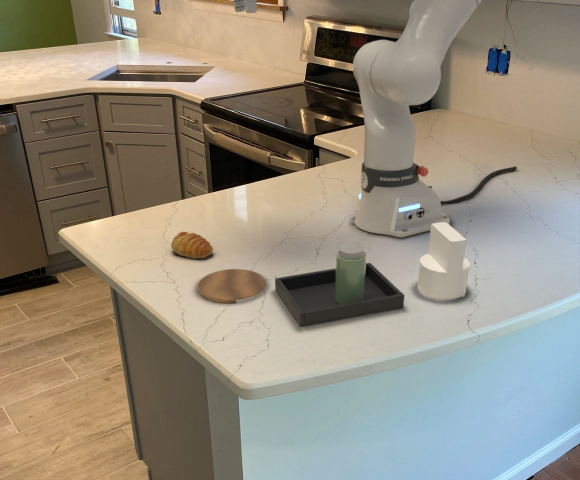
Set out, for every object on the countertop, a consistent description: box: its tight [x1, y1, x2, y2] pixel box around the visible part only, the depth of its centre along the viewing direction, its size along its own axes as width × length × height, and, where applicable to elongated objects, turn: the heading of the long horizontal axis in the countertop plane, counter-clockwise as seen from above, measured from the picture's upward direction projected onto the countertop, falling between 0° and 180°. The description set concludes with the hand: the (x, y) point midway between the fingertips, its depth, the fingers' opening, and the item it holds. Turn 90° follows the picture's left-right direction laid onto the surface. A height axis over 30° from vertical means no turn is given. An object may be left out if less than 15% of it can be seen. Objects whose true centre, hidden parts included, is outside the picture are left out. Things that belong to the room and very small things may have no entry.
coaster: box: [197, 268, 266, 304], centre depth 121 cm, size 13×13×1 cm
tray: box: [274, 262, 405, 328], centre depth 115 cm, size 20×15×3 cm
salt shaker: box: [335, 242, 367, 304], centre depth 113 cm, size 5×5×10 cm
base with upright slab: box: [417, 222, 471, 301], centre depth 115 cm, size 9×9×12 cm
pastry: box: [170, 231, 214, 259], centre depth 135 cm, size 9×7×4 cm
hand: (245, 12), depth 114 cm, fingers open, 8 cm apart
